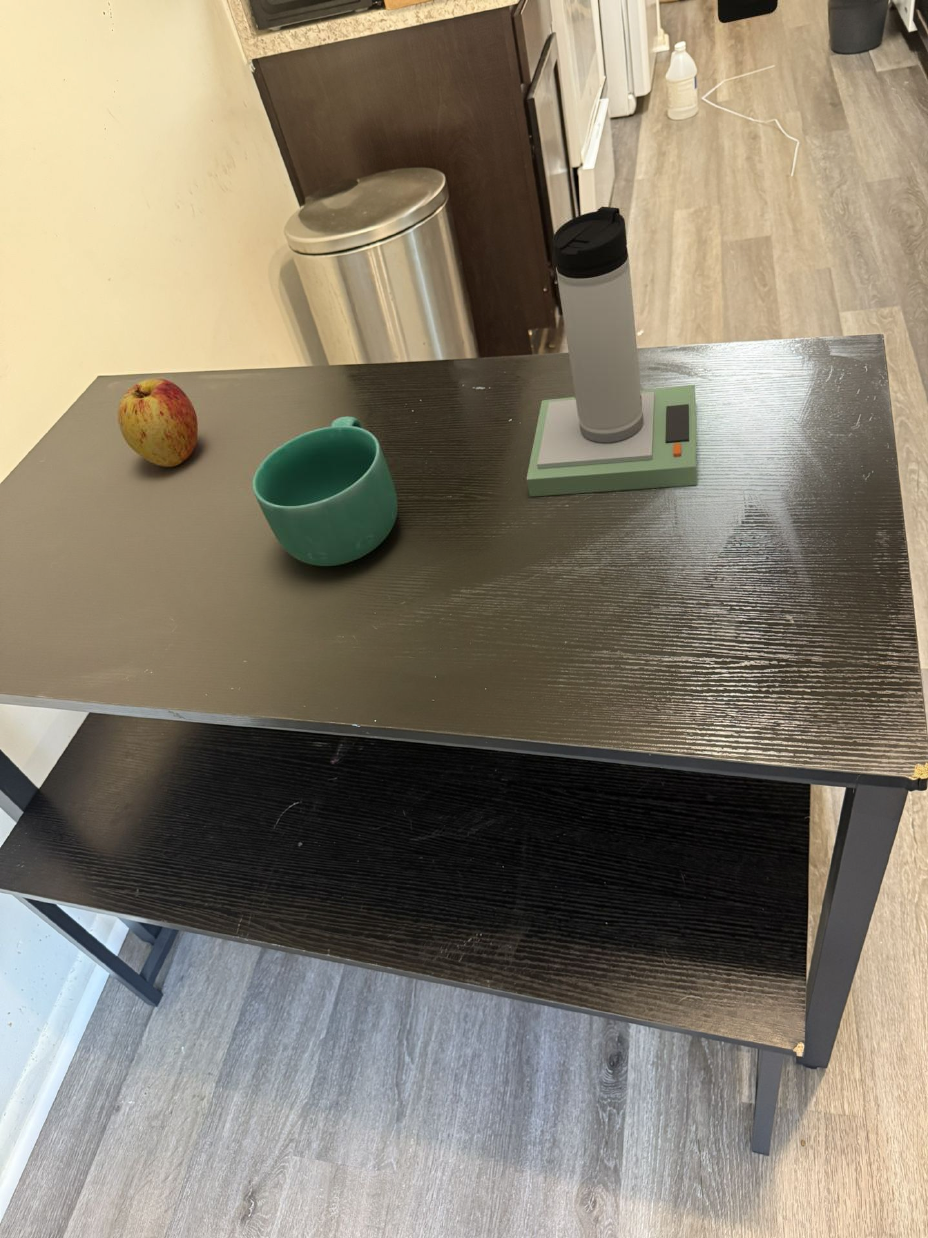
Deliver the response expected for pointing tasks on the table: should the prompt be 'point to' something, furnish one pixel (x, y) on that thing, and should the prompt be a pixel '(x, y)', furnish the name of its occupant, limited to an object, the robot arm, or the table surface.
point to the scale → (616, 448)
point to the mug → (328, 494)
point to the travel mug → (600, 323)
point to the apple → (158, 422)
